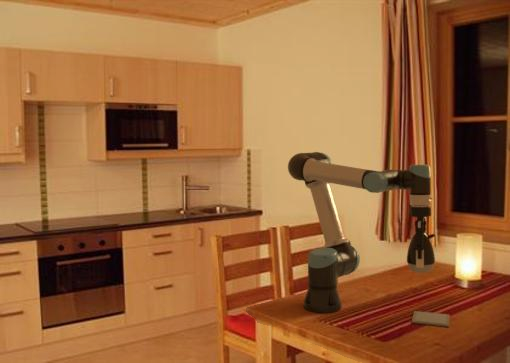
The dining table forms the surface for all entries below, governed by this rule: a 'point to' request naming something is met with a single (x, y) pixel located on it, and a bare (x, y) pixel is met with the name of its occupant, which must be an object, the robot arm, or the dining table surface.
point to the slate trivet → (430, 318)
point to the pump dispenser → (428, 254)
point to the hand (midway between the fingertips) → (421, 264)
